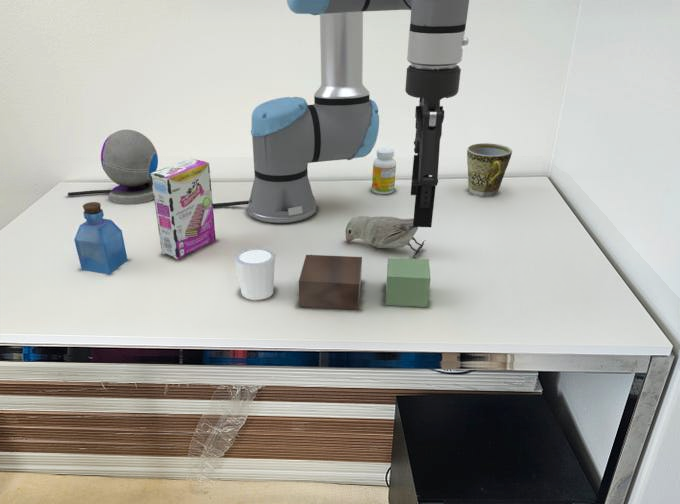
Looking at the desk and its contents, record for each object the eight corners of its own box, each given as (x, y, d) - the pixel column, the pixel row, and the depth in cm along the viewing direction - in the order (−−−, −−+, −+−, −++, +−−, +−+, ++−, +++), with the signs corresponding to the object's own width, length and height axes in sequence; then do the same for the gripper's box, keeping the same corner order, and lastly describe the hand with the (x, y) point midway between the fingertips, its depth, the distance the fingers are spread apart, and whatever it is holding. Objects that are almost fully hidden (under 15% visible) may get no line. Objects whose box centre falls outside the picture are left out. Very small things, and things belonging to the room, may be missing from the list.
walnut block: (299, 307, 104) (298, 281, 101) (306, 279, 112) (305, 254, 110) (358, 310, 103) (359, 283, 100) (361, 281, 111) (362, 256, 108)
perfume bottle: (127, 260, 120) (115, 201, 113) (109, 274, 115) (96, 213, 108) (100, 256, 122) (87, 197, 115) (81, 269, 117) (66, 209, 110)
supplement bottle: (370, 187, 151) (371, 147, 145) (391, 186, 151) (394, 146, 146) (373, 195, 147) (376, 154, 141) (396, 194, 147) (399, 153, 141)
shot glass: (271, 303, 106) (269, 266, 101) (233, 300, 107) (229, 263, 103) (280, 284, 111) (279, 248, 107) (244, 281, 112) (241, 246, 108)
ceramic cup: (456, 185, 151) (461, 144, 145) (495, 183, 152) (502, 142, 146) (473, 205, 141) (480, 161, 135) (516, 202, 141) (524, 159, 136)
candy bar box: (179, 261, 119) (167, 178, 110) (161, 255, 122) (148, 173, 112) (218, 241, 127) (210, 161, 117) (200, 235, 129) (191, 156, 120)
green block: (385, 305, 104) (387, 276, 101) (386, 285, 110) (388, 257, 107) (427, 307, 104) (430, 278, 101) (425, 287, 109) (428, 259, 106)
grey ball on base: (121, 183, 156) (109, 122, 147) (169, 185, 154) (160, 123, 145) (100, 202, 145) (86, 137, 136) (152, 204, 144) (141, 139, 135)
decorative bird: (351, 236, 127) (352, 202, 123) (426, 251, 121) (430, 215, 117) (340, 247, 123) (341, 211, 119) (418, 262, 118) (422, 225, 113)
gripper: (470, 82, 76) (450, 242, 88) (453, 50, 96) (439, 183, 108) (409, 82, 77) (397, 240, 89) (405, 50, 97) (396, 182, 109)
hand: (420, 209), depth 99 cm, fingers open, 13 cm apart
